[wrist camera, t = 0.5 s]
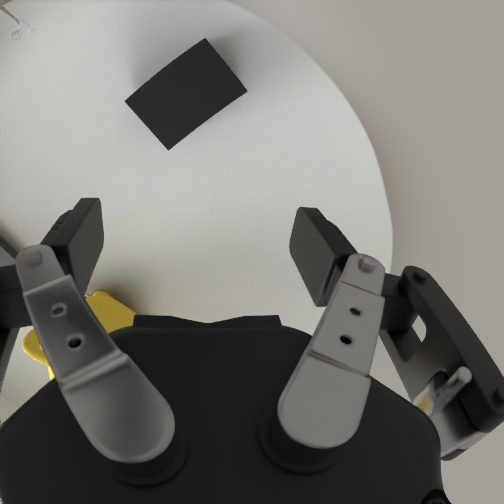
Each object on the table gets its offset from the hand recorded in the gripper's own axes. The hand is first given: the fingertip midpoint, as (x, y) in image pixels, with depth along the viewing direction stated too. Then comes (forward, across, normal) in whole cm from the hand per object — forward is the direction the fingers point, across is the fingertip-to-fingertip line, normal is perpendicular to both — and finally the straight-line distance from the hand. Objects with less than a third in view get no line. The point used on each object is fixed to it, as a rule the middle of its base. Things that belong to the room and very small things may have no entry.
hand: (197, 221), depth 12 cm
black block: (+15, +1, -4) cm, 16 cm away
